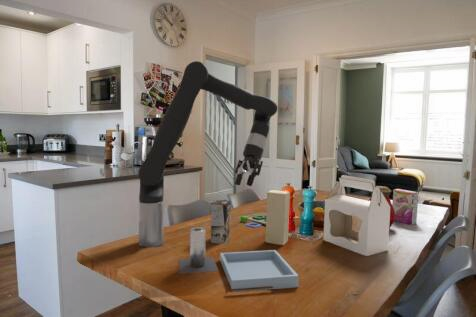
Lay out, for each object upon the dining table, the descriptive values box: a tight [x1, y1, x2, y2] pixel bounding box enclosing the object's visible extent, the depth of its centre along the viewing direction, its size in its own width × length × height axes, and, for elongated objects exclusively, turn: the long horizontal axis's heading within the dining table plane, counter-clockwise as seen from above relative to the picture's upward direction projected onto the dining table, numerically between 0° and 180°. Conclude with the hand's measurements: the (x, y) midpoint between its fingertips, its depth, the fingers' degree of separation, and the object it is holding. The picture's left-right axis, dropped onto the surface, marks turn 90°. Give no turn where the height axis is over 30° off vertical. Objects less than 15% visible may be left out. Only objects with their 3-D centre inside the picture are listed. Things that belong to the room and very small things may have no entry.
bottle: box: [369, 185, 397, 230], centre depth 165 cm, size 16×14×20 cm
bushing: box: [189, 226, 206, 268], centre depth 114 cm, size 5×5×12 cm
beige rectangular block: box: [264, 189, 291, 246], centre depth 142 cm, size 8×7×21 cm
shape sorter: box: [240, 212, 300, 229], centre depth 176 cm, size 34×19×5 cm, turn 125°
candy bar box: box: [391, 188, 419, 226], centre depth 177 cm, size 11×5×16 cm, turn 34°
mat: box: [178, 256, 219, 275], centre depth 114 cm, size 12×12×1 cm
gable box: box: [323, 174, 390, 257], centre depth 139 cm, size 22×13×28 cm, turn 32°
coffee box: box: [210, 199, 232, 245], centre depth 142 cm, size 9×6×16 cm
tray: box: [219, 249, 300, 293], centre depth 110 cm, size 20×22×4 cm
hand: (242, 185), depth 133 cm, fingers open, 8 cm apart
